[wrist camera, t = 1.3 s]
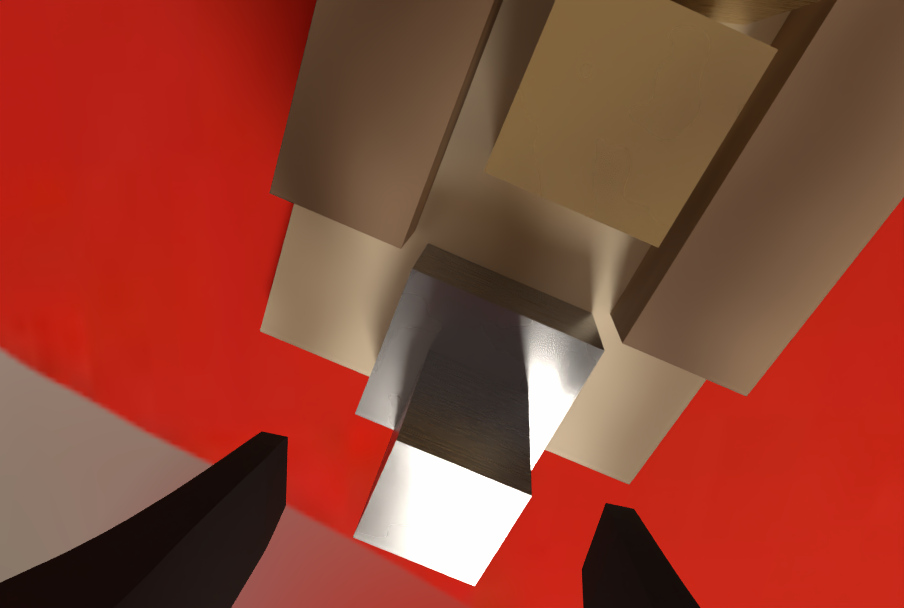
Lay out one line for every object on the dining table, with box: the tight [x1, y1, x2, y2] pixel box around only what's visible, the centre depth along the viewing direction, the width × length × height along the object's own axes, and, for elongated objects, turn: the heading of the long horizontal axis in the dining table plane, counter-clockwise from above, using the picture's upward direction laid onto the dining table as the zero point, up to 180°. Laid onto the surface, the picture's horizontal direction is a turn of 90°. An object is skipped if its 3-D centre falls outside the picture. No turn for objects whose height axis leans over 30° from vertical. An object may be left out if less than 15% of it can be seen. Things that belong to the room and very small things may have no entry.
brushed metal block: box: [353, 243, 605, 586], centre depth 13 cm, size 6×5×6 cm
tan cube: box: [484, 0, 778, 248], centre depth 11 cm, size 4×4×4 cm
